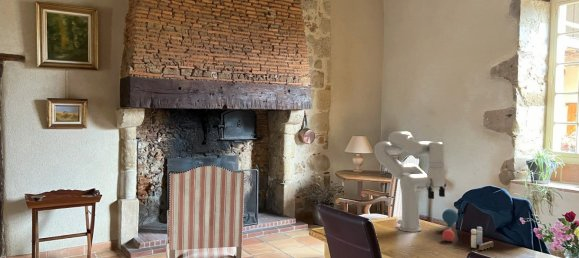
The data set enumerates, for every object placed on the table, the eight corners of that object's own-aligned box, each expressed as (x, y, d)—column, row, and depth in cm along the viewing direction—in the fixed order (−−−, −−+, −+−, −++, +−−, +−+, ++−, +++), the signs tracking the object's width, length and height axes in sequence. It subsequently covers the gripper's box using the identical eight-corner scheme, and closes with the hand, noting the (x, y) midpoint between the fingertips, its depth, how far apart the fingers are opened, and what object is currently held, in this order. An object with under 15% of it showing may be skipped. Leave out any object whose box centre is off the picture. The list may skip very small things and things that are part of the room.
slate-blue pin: (476, 244, 225) (476, 227, 225) (478, 243, 226) (478, 226, 226) (480, 245, 223) (480, 228, 223) (483, 244, 224) (483, 227, 224)
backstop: (478, 250, 214) (478, 245, 214) (491, 246, 221) (491, 241, 221) (481, 250, 213) (481, 245, 213) (493, 246, 220) (493, 241, 220)
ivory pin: (470, 247, 220) (470, 229, 220) (472, 246, 221) (472, 229, 221) (474, 248, 218) (474, 230, 218) (477, 247, 219) (477, 229, 219)
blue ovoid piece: (459, 232, 249) (459, 210, 249) (443, 231, 250) (443, 210, 250) (456, 228, 257) (456, 207, 257) (441, 228, 259) (441, 207, 258)
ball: (440, 240, 231) (440, 229, 231) (446, 239, 235) (446, 227, 235) (450, 243, 226) (450, 231, 226) (457, 241, 230) (457, 229, 230)
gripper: (439, 163, 245) (439, 195, 245) (420, 166, 235) (420, 198, 235) (451, 164, 239) (452, 196, 239) (432, 167, 229) (433, 200, 229)
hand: (436, 197), depth 237 cm, fingers open, 9 cm apart
